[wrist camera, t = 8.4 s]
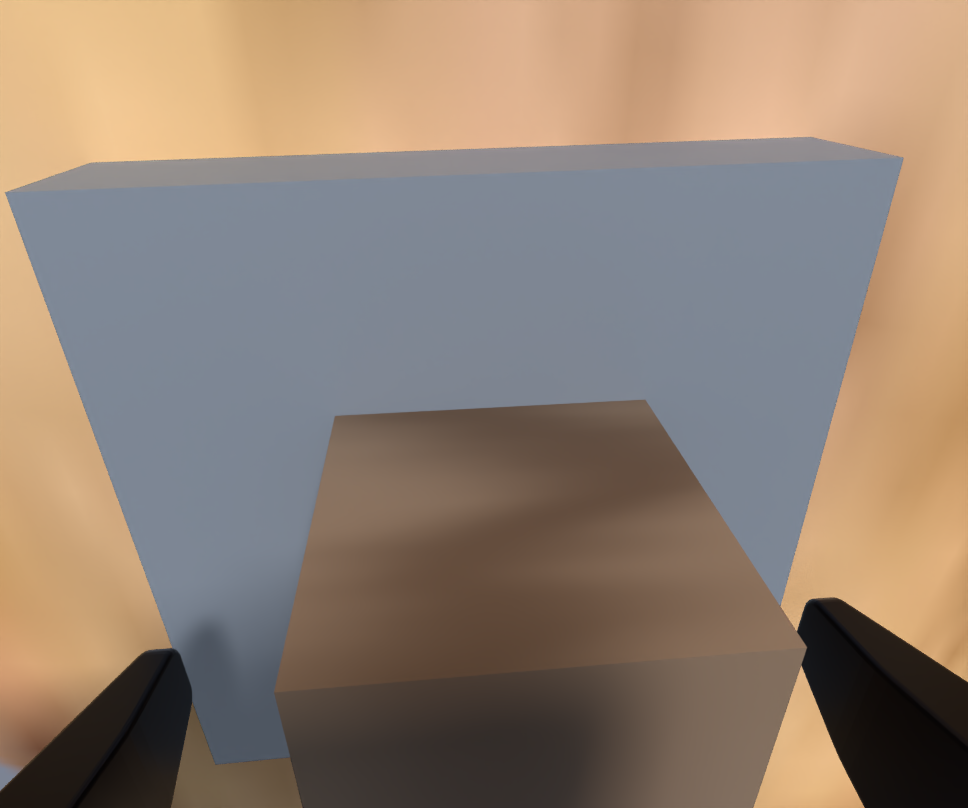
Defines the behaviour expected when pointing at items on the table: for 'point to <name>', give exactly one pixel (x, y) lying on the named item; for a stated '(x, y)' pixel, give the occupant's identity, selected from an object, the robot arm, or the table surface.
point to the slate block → (437, 339)
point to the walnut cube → (527, 620)
